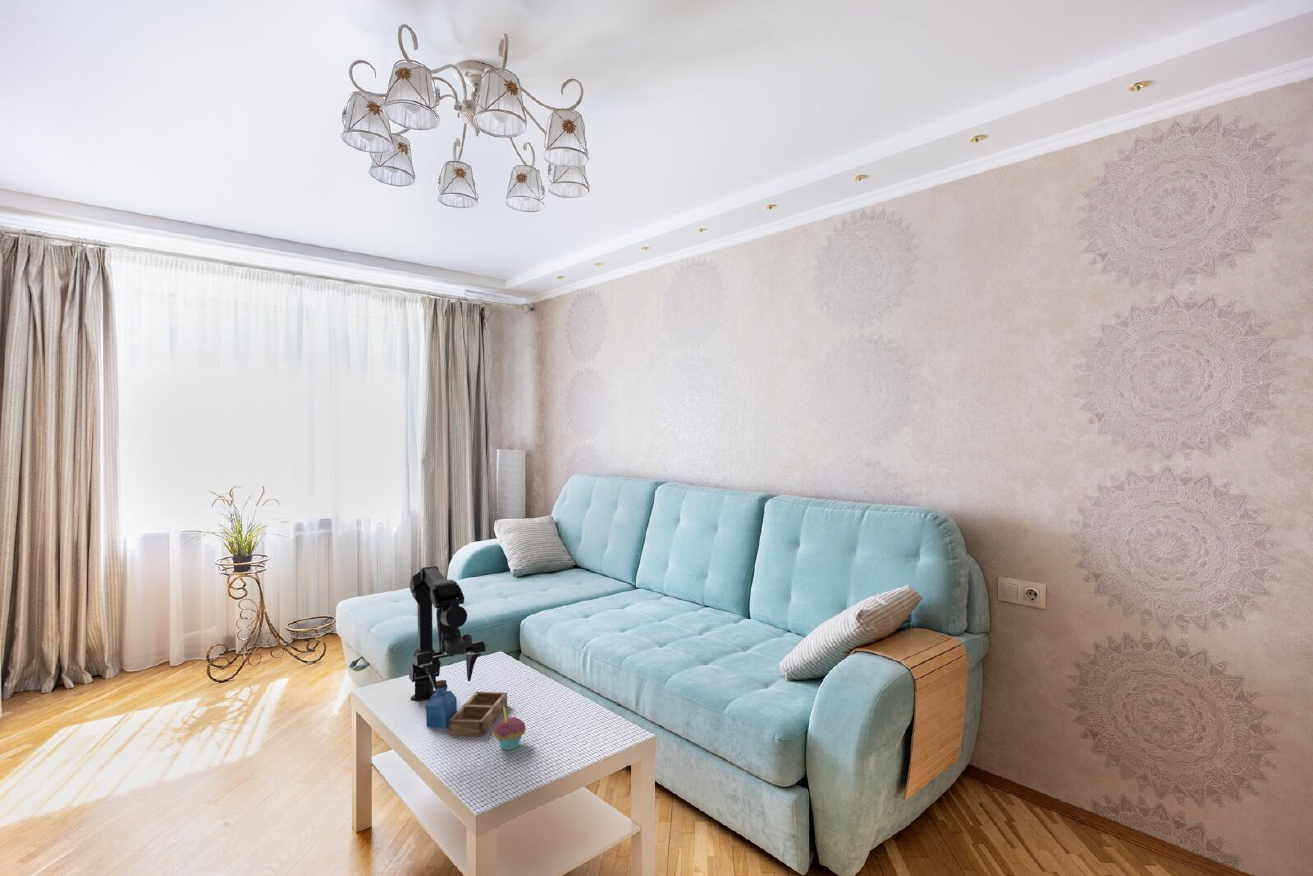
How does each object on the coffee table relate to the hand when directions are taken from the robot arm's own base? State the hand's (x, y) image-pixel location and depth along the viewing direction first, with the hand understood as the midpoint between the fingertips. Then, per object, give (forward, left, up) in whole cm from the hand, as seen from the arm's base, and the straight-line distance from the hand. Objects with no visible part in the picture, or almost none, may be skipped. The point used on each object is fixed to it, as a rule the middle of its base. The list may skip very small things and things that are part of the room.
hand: (452, 685), depth 170 cm
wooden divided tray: (-12, +2, -15) cm, 20 cm away
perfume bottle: (-10, -8, -16) cm, 20 cm away
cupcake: (+2, +17, -16) cm, 23 cm away
